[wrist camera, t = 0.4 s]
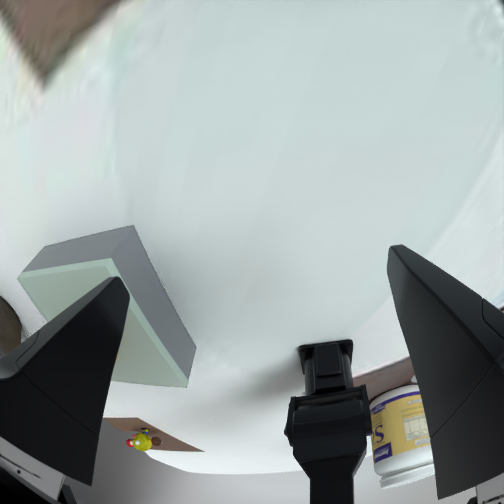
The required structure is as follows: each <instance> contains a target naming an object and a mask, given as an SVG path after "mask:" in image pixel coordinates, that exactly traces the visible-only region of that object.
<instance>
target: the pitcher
mask: <svg viewBox="0 0 504 504" xmlns="http://www.w3.org/2000/svg"><path fill="white" fill-rule="evenodd" d="M20 344H21V324H20V321H19V318H18V316H17V314H16V313H15V311H14V310H13V309H12V307H11V306H10V305H9V304H8V303H7V302H6V301H5V300H3V299H2V298H1V297H0V359H2V358H3V357H4V356H6V355H7V354H8V353H10V352H11V351H12V350H14V349H15V348H16V347H17V346H19V345H20Z"/></svg>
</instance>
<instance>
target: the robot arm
mask: <svg viewBox="0 0 504 504" xmlns="http://www.w3.org/2000/svg"><path fill="white" fill-rule="evenodd" d="M387 275H388V279H389V283H390V287H391V291H392V295H393V299H394V304H395V308H396V312H397V316H398V320H399V323H400V326H401V329H402V332H403V335H404V338H405V341H406V345H407V348H408V351H409V354H410V358H411V361H412V365H413V368H414V372H415V376H416V379H417V383H418V387H419V391H420V395H421V399H422V404H423V408H424V412H425V417H426V422H427V427H428V432H429V437H430V438H431V439H430V444H431V449H432V456H433V462H434V469H435V476H436V486H437V496H438V500H439V499H443V498H445V497H449V496H451V495H454V494H457V493H460V492H462V491H465V490H467V489H470V488H472V487H475V486H476V494H477V496H475V497H473V498H471V499H470V500H469V501H468V503H467V504H504V313H503V312H502V311H501V310H499V309H498V308H497V307H495V306H494V305H492V304H491V303H490V302H488V301H487V300H486V299H484V298H483V299H482V297H481V296H480V295H479V294H477V293H476V292H474V291H473V290H471V289H470V288H469V287H467V286H466V285H464V284H463V283H461V282H460V281H458V280H457V279H456V278H454V277H453V276H451V275H450V274H448V273H447V272H445V271H444V270H442V269H441V268H439V267H437V266H436V265H434V264H433V263H431V262H430V261H428V260H427V259H425V258H423V257H422V256H420V255H419V254H417V253H415V252H414V251H412V250H411V249H409V248H407V247H406V246H404V245H393V246H390V248H389V252H388V263H387ZM129 302H130V294H129V292H128V290H127V288H126V286H125V284H124V283H123V281H122V279H121V278H120V277H119V276H113V277H108V278H107V279H106V280H104V281H103V282H101V283H100V284H99V285H97V286H96V287H94V288H93V289H92V290H90V291H89V292H88V293H86V294H85V295H83V296H82V297H81V298H79V299H78V300H77V301H75V302H74V303H73V304H71V305H70V306H69V307H67V308H66V309H65V310H64V311H62V312H61V313H60V314H58V315H57V316H56V317H54V318H53V319H52V320H51V321H49V322H48V323H47V324H45V325H44V326H43V327H42V328H41V329H39V330H38V331H37V332H35V333H34V334H33V335H32V336H30V337H29V338H28V339H27V340H25V341H24V342H23V343H21V344H20V345H19V346H17V347H16V348H15V349H14V350H12V351H11V352H10V353H8V354H7V355H6V356H4V357H3V358H2V359H0V504H77V503H76V501H75V498H74V496H73V494H72V491H71V489H70V486H68V485H66V484H64V483H63V481H64V477H65V475H66V476H69V477H70V478H73V479H75V480H77V481H79V482H81V483H84V484H86V485H89V486H92V481H93V473H94V466H95V459H96V453H97V445H98V440H99V434H100V428H101V423H102V418H103V413H104V408H105V404H106V399H107V395H108V390H109V386H110V382H111V378H112V374H113V370H114V366H115V362H116V358H117V354H118V351H119V347H120V344H121V340H122V336H123V332H124V327H125V322H126V317H127V312H128V307H129ZM299 352H300V358H301V364H302V370H303V374H304V375H305V391H306V396H300V397H296V396H295V397H291V401H290V403H289V409H288V417H287V423H286V426H285V429H284V434H285V435H286V436H287V437H288V440H289V443H290V446H291V447H293V455H294V457H295V459H296V460H297V462H298V463H299V464H300V466H301V467H302V469H303V470H304V471H305V473H306V474H307V476H308V477H309V478H310V504H354V479H353V477H354V475H355V474H356V472H357V470H358V468H359V467H360V465H361V463H362V461H363V459H364V457H365V455H366V450H367V439H366V436H370V435H372V421H371V413H370V407H369V401H368V396H367V390H366V385H365V384H363V385H361V386H358V387H354V386H353V379H352V372H351V362H352V352H353V341H352V340H343V341H336V342H329V343H321V344H312V345H303V346H300V347H299Z"/></svg>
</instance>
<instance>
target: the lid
mask: <svg viewBox="0 0 504 504" xmlns="http://www.w3.org/2000/svg"><path fill="white" fill-rule="evenodd" d="M113 276H119V277H120V278H121V279H122V277H121V275H120V273H119V272H118V270H117V268H116V266H115V264H114V262H113V261H112V259H111V258H106V259H100V260H94V261H87V262H81V263H75V264H69V265H63V266H57V267H51V268H45V269H39V270H33V271H28V272H22V273H21V274H20V275H19V276H18V278H17V279H18V281H19V282H20V284H21V286H22V287H23V289H24V290H25V291H26V293H27V294H28V296H29V297H30V299H31V300H32V302H33V303H34V304H35V306H36V307H37V308H38V310H39V311H40V312H41V314H42V315H43V316H44V318H45V319H46V320H47V322H49V321H51V320H52V319H53V318H54V317H56V316H57V315H58V314H60V313H61V312H62V311H64V310H65V309H66V308H67V307H69V306H70V305H71V304H73V303H74V302H75V301H77V300H78V299H79V298H81V297H82V296H83V295H85V294H86V293H88V292H89V291H90V290H92V289H93V288H94V287H96V286H97V285H99V284H100V283H101V282H103V281H104V280H106V279H107V278H108V277H113ZM122 281H123V279H122ZM123 283H124V284H125V282H124V281H123ZM125 286H126V284H125ZM126 288H127V286H126ZM127 290H128V292H129V294H130V302H129V307H128V312H127V317H126V322H125V327H124V332H123V336H122V340H121V344H120V347H119V351H118V354H117V358H116V362H115V366H114V370H113V374H112V378H111V381H119V382H126V383H135V384H144V385H155V386H167V387H184V388H187V386H188V382H189V380H188V379H187V377H186V376H185V375H184V373H183V372H182V371H181V369H180V368H179V367H178V365H177V364H176V362H175V361H174V360H173V358H172V357H171V355H170V354H169V352H168V351H167V350H166V348H165V347H164V345H163V344H162V342H161V341H160V339H159V338H158V336H157V335H156V333H155V332H154V330H153V329H152V327H151V325H150V324H149V322H148V321H147V319H146V318H145V316H144V314H143V313H142V311H141V309H140V308H139V306H138V305H137V303H136V301H135V300H134V298H133V296H132V295H131V293H130V291H129V289H128V288H127Z"/></svg>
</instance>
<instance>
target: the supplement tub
mask: <svg viewBox="0 0 504 504" xmlns="http://www.w3.org/2000/svg"><path fill="white" fill-rule="evenodd" d="M369 407H370V413H371V421H372V435H371V441H372V451H373V461H374V470H375V472H376V473H377V474H378V475H380V476H382V480H380V483H381V489H387V488H392V487H396V486H400V485H404V484H408V483H411V482H415V481H417V480H421V479H423V478H426V477H429V476H431V475H434V474H435V469H434V462H433V456H432V449H431V444H430V439H431V438H430V437H429V432H428V427H427V422H426V417H425V412H424V408H423V404H422V399H421V395H420V391H419V387H418V385H407V386H403V387H399V388H396V389H393V390H391V391H388V392H386V393H384V394H382V395H380V396H379V397H377V398H376V399H375V400H373V401H372V403H371V404H370V406H369Z"/></svg>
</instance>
